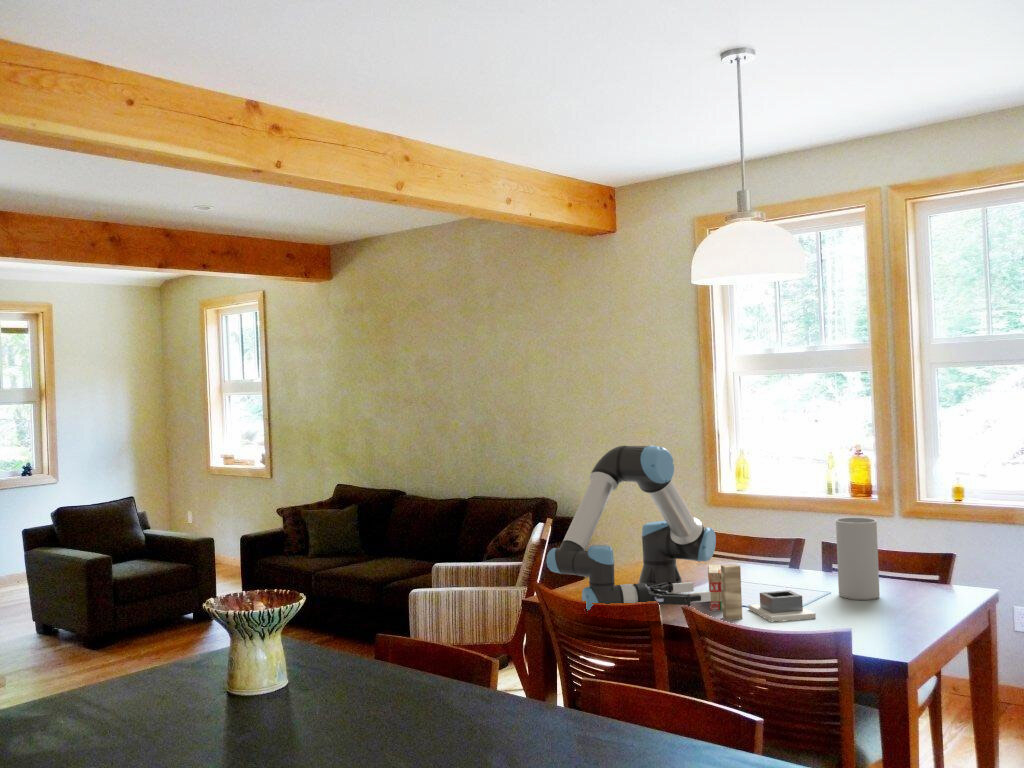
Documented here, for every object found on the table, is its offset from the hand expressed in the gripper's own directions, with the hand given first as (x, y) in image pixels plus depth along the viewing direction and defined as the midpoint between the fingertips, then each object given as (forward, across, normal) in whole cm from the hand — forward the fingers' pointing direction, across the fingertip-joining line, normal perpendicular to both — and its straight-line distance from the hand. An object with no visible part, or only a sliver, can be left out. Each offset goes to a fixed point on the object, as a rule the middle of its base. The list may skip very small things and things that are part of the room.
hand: (701, 591), depth 267 cm
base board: (+26, 0, -9) cm, 27 cm away
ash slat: (+10, 0, -9) cm, 13 cm away
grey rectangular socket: (+26, 0, -7) cm, 27 cm away
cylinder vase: (+60, -13, -9) cm, 62 cm away
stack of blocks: (+14, -20, -9) cm, 26 cm away
